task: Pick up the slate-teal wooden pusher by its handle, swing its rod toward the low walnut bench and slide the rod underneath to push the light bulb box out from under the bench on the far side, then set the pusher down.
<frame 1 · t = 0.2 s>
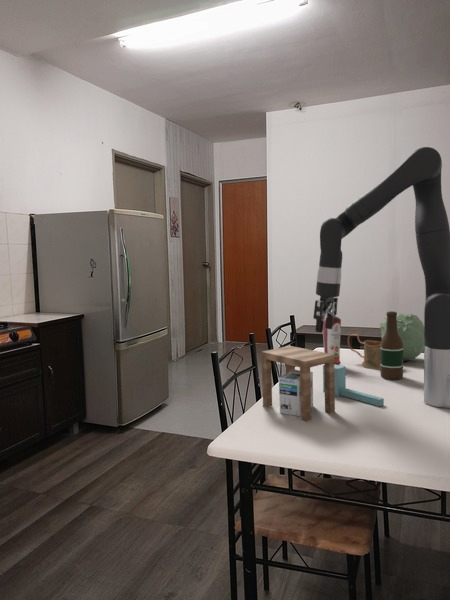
hand: (323, 330, 153), 21 cm above the table, tool pointing down, fingers open, 8 cm apart
pusher: (334, 392, 154), on the table
mug: (369, 365, 189), on the table
beer bottle: (391, 378, 170), on the table
cabbage: (403, 360, 195), on the table
liquor: (332, 366, 189), on the table
bench: (298, 408, 140), on the table
light bulb box: (296, 410, 140), on the table
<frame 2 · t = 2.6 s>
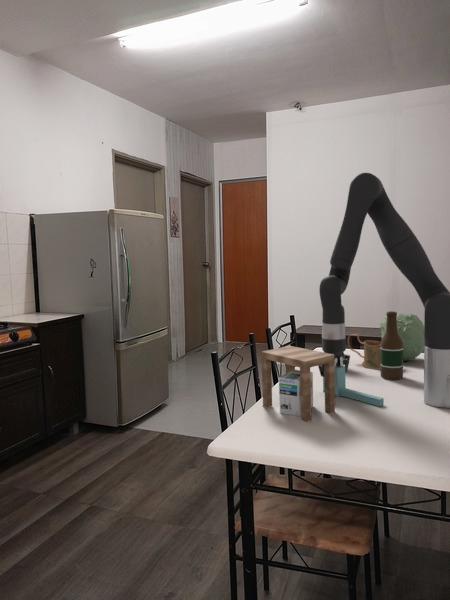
hand: (334, 387, 154), 2 cm above the table, tool pointing down, fingers closed on pusher, 4 cm apart
pusher: (334, 392, 154), on the table, touching gripper
everything else where it was.
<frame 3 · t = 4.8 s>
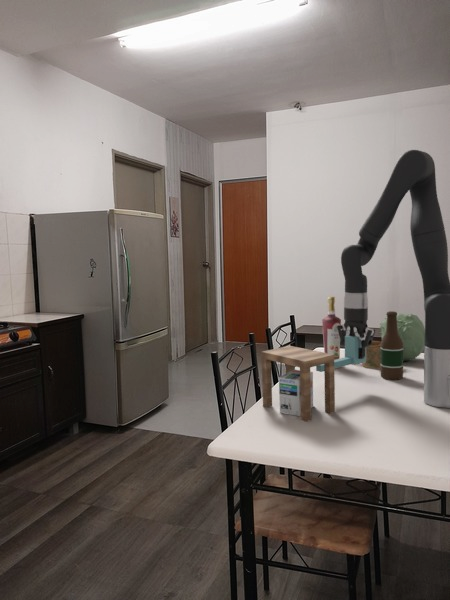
hand: (355, 357, 155), 11 cm above the table, tool pointing down, fingers closed on pusher, 4 cm apart
pusher: (355, 362, 155), point 9 cm above the table, touching gripper
everything else where it was.
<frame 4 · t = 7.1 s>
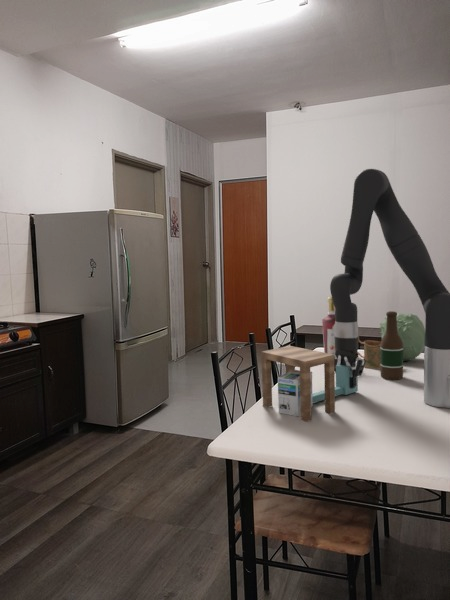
hand: (346, 386, 153), 2 cm above the table, tool pointing down, fingers closed on pusher, 4 cm apart
pusher: (346, 391, 154), on the table, touching gripper, light bulb box
light bulb box: (295, 410, 140), on the table, touching pusher
everything else where it was.
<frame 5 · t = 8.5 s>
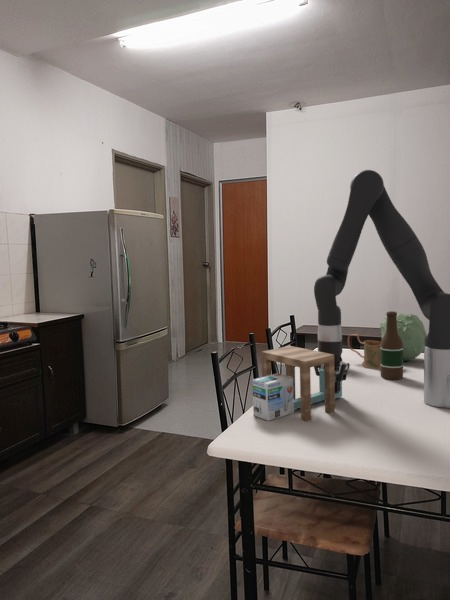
hand: (330, 391, 149), 2 cm above the table, tool pointing down, fingers closed on pusher, 4 cm apart
pusher: (330, 396, 149), on the table, touching gripper, light bulb box
light bulb box: (273, 414, 136), on the table, touching pusher
everything else where it was.
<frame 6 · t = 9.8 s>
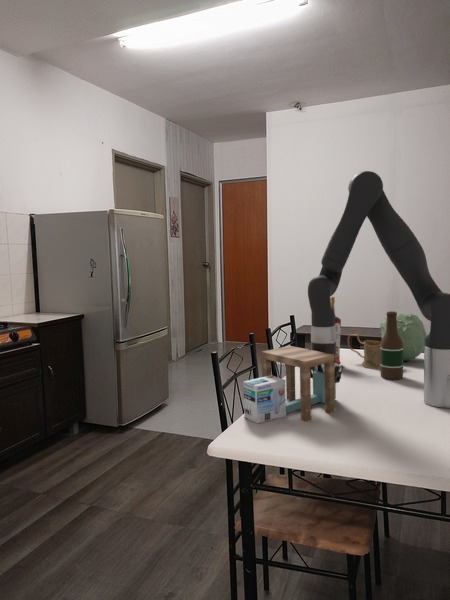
hand: (324, 393, 147), 2 cm above the table, tool pointing down, fingers closed on pusher, 4 cm apart
pusher: (324, 399, 147), on the table, touching gripper
light bulb box: (265, 417, 135), on the table
everything else where it was.
when the fingers open (2 cm above the table, at t = 11.7 s): pusher stays where it is, on the table.
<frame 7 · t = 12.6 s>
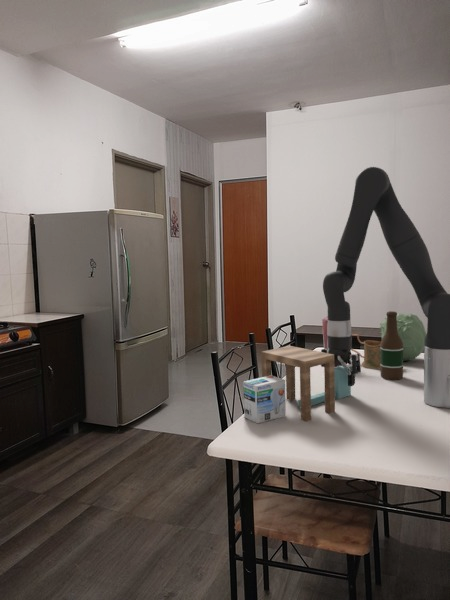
hand: (340, 383, 151), 4 cm above the table, tool pointing down, fingers open, 8 cm apart
pusher: (339, 395, 151), on the table
everything else where it was.
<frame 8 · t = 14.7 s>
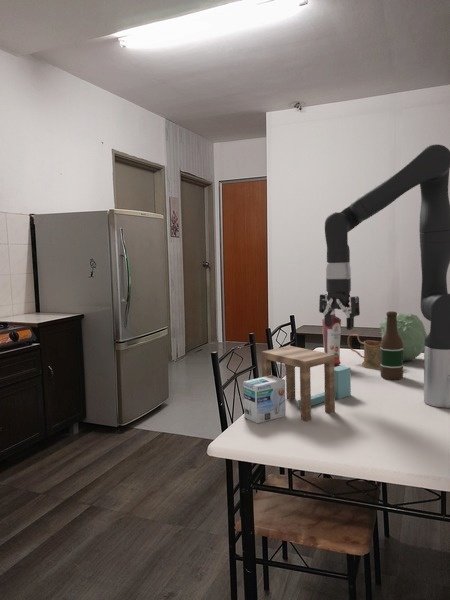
hand: (338, 327, 149), 22 cm above the table, tool pointing down, fingers open, 8 cm apart
nothing on the table moved.
at the end: light bulb box inside the target area (7.5 cm from its centre), on the table; light bulb box moved 11.2 cm from its start; the gripper is holding nothing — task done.
